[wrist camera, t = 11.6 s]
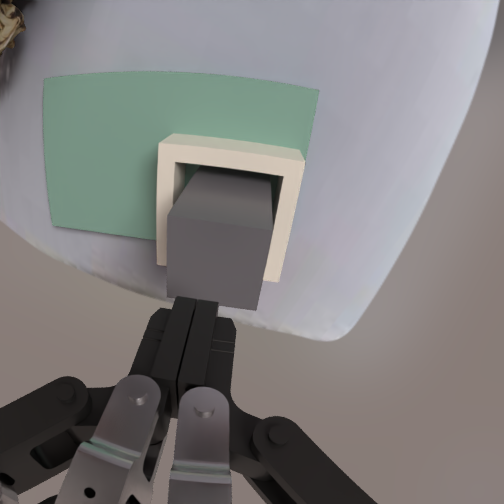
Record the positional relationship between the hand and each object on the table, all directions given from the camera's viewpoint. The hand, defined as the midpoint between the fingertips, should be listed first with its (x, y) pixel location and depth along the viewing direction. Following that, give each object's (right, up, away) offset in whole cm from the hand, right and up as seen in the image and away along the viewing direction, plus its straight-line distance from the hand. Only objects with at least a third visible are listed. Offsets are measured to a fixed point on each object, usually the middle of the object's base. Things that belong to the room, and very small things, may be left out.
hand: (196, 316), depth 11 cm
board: (-4, +9, +9) cm, 13 cm away
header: (0, +6, +10) cm, 11 cm away
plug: (+1, +6, +10) cm, 11 cm away
